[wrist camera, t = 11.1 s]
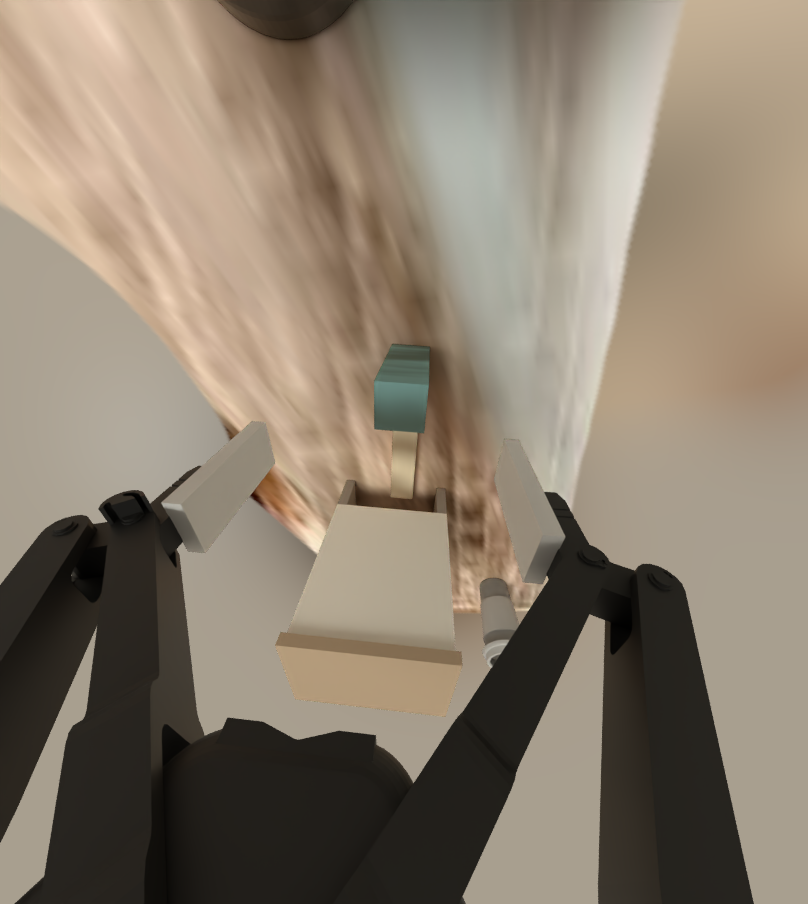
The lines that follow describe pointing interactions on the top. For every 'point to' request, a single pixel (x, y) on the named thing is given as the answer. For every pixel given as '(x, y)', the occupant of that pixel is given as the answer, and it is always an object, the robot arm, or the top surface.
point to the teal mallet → (402, 409)
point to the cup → (496, 618)
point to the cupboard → (377, 613)
